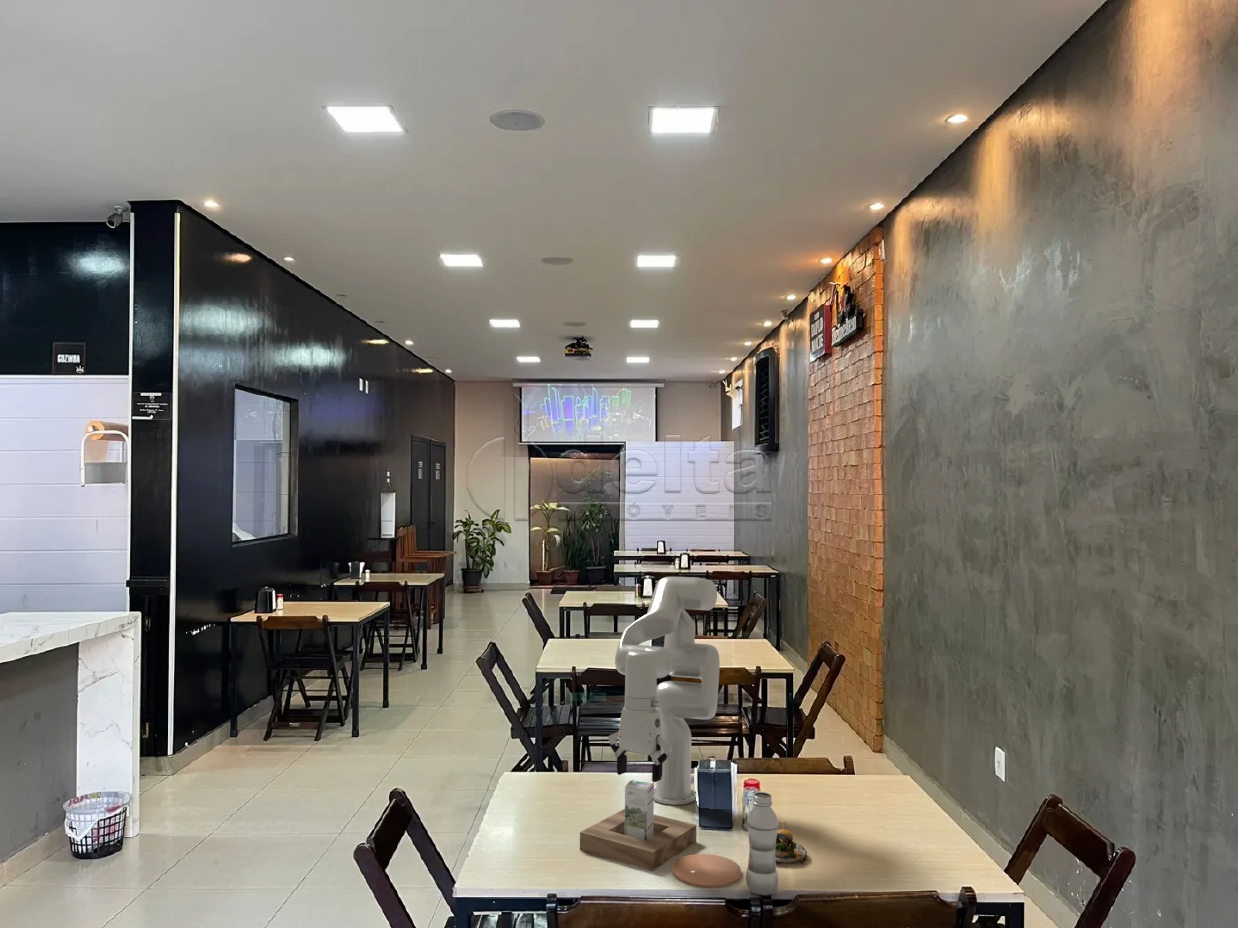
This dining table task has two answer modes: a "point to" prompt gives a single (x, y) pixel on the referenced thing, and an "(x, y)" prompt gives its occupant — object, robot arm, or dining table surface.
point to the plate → (706, 870)
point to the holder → (638, 841)
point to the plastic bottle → (762, 846)
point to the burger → (788, 848)
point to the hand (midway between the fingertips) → (639, 776)
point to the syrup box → (639, 809)
